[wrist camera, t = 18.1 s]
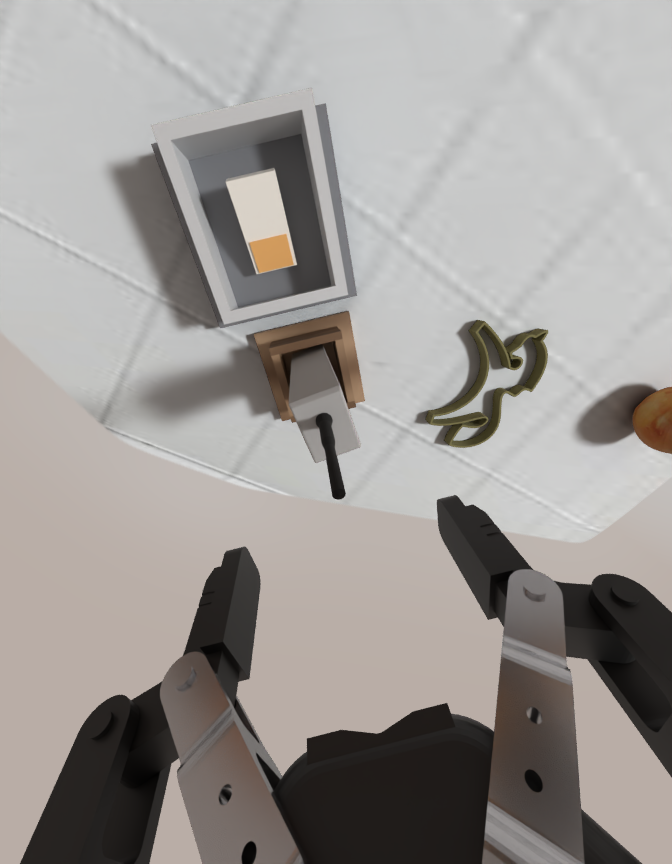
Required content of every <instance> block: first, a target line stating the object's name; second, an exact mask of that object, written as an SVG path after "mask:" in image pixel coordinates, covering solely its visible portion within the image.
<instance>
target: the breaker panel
mask: <svg viewBox="0 0 672 864" xmlns="http://www.w3.org/2000/svg"><path fill="white" fill-rule="evenodd" d="M151 127H152V130H153V133H154V136H155V138H156V141H157V143H154V144H151V145H152V148H153V151H154V153H155V156H156V159H157V161H158V164H159V167H160V169H161V172H162V175H163V177H164V180H165V183H166V185H167V188H168V190H169V193H170V196H171V198H172V201H173V204H174V206H175V209H176V212H177V214H178V217H179V220H180V222H181V225H182V228H183V230H184V233H185V236H186V238H187V241H188V244H189V246H190V249H191V252H192V254H193V257H194V260H195V262H196V265H197V268H198V270H199V273H200V276H201V278H202V281H203V284H204V286H205V289H206V292H207V294H208V297H209V300H210V302H211V305H212V308H213V310H214V313H215V316H216V318H217V321H218V324H219V326H220V328H224V327H228V326H232V325H236V324H240V323H244V322H248V321H253V320H257V319H261V318H265V317H269V316H273V315H278V314H282V313H286V312H290V311H294V310H298V309H303V308H307V307H311V306H315V305H319V304H323V303H328V302H332V301H336V300H340V299H344V298H348V297H353V296H357V293H356V287H355V281H354V274H353V268H352V262H351V256H350V250H349V244H348V238H347V231H346V225H345V219H344V213H343V207H342V201H341V194H340V188H339V182H338V176H337V170H336V164H335V158H334V151H333V145H332V139H331V133H330V127H329V121H328V115H327V108H326V103H325V104H321V105H317V106H315V102H314V96H313V91H312V88H308V89H304V90H300V91H295V92H291V93H287V94H282V95H278V96H274V97H269V98H265V99H261V100H257V101H252V102H248V103H244V104H239V105H235V106H231V107H226V108H222V109H218V110H213V111H209V112H205V113H201V114H196V115H192V116H188V117H183V118H179V119H175V120H170V121H166V122H162V123H157V124H153V125H151ZM271 168H274V169H275V172H276V177H277V181H278V185H279V189H280V194H281V198H282V202H283V207H284V211H285V215H286V220H287V224H288V228H289V232H290V237H291V241H292V245H293V250H294V254H295V258H296V263H297V265H294V266H290V267H286V268H281V269H277V270H273V271H269V272H265V273H261V274H256V271H255V268H254V265H253V262H252V259H251V256H250V253H249V250H248V247H247V244H246V241H245V238H244V235H243V232H242V229H241V226H240V223H239V220H238V217H237V214H236V211H235V208H234V205H233V202H232V199H231V196H230V193H229V190H228V187H227V185H226V179H228V178H233V177H237V176H241V175H245V174H250V173H254V172H258V171H262V170H267V169H271Z"/></svg>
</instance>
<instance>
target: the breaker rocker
mask: <svg viewBox="0 0 672 864" xmlns="http://www.w3.org/2000/svg"><path fill="white" fill-rule="evenodd" d="M226 185H227V187H228V190H229V193H230V196H231V199H232V202H233V205H234V208H235V211H236V214H237V217H238V220H239V223H240V226H241V229H242V232H243V235H244V238H245V241H246V244H247V247H248V250H249V253H250V256H251V259H252V262H253V265H254V268H255V271H256V274H261V273H265V272H269V271H273V270H277V269H281V268H286V267H290V266H294V265H297V263H296V258H295V254H294V250H293V245H292V241H291V237H290V232H289V228H288V224H287V220H286V215H285V211H284V207H283V202H282V198H281V194H280V189H279V185H278V181H277V177H276V172H275V169H274V168H271V169H267V170H262V171H258V172H254V173H250V174H245V175H241V176H237V177H233V178H228V179H226Z"/></svg>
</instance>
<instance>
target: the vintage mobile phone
mask: <svg viewBox="0 0 672 864" xmlns="http://www.w3.org/2000/svg"><path fill="white" fill-rule="evenodd" d="M289 407H290V409H291V411H292V413H293V416H294V418H295V420H296V422H297V424H298V427H299V429H300V431H301V433H302V435H303V438H304V440H305V442H306V444H307V446H308V449H309V451H310V453H311V455H312V457H313V460H314V461H315V463H318V462H321V461H324V460H326V461H327V467H328V473H329V478H330V484H331V490H332V496H333V498H335V499H338V500H339V499H342V498H344V497H345V494H346V493H345V489H344V485H343V480H342V476H341V472H340V468H339V463H338V459H337V456H338V455H340V454H343V453H346V452H349V451H351V450H354V449H357V448H360V446H361V443H360V440H359V437H358V435H357V432H356V429H355V426H354V423H353V420H352V418H351V415H350V412H349V409H348V406H347V403H346V400H345V398H344V395H343V392H342V389H341V386H340V384H339V382H338V379H337V377H336V375H335V372H334V370H333V368H332V365H331V363H330V361H329V358H328V356H327V354H326V351H325V349H324V347H323V345H322V344H319V345H315V346H313V347H310V348H307V349H305V350H302V351H299V352H297V353H294V354H292V360H291V375H290V390H289Z"/></svg>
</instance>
